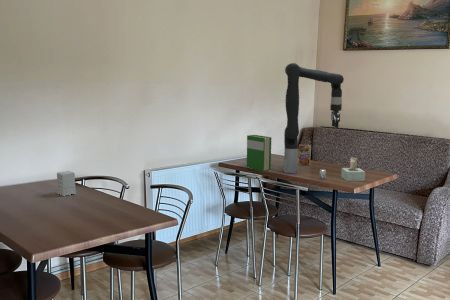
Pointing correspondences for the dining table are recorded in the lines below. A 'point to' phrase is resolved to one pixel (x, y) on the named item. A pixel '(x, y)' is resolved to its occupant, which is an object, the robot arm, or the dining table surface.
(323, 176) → the short pin
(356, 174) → the hole block
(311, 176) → the dining table surface
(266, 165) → the hardback book
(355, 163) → the tall pin
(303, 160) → the candy box
